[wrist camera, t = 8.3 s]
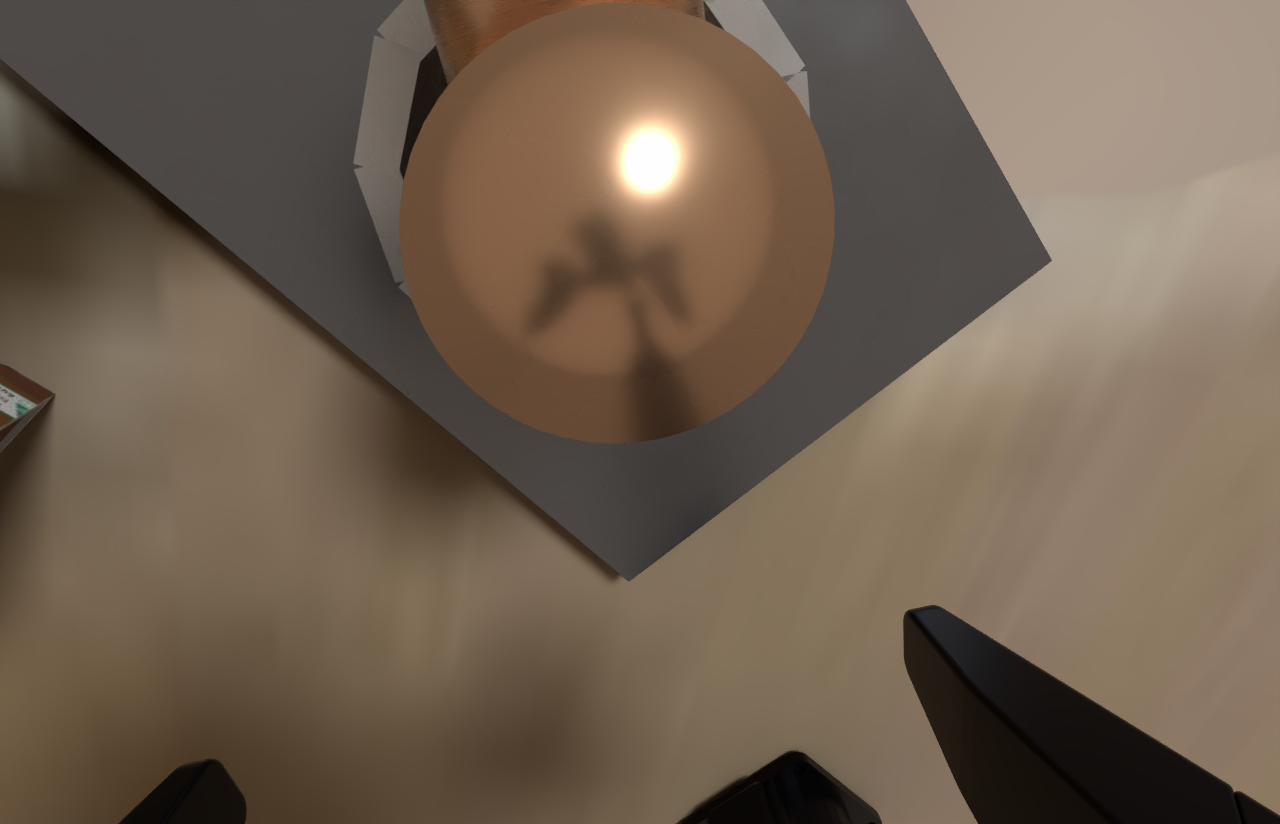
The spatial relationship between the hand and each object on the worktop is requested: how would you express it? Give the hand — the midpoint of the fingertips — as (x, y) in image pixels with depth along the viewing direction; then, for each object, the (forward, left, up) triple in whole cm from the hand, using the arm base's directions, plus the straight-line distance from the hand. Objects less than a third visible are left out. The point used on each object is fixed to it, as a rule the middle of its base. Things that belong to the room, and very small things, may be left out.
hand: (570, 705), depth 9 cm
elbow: (+5, -5, -11) cm, 13 cm away
